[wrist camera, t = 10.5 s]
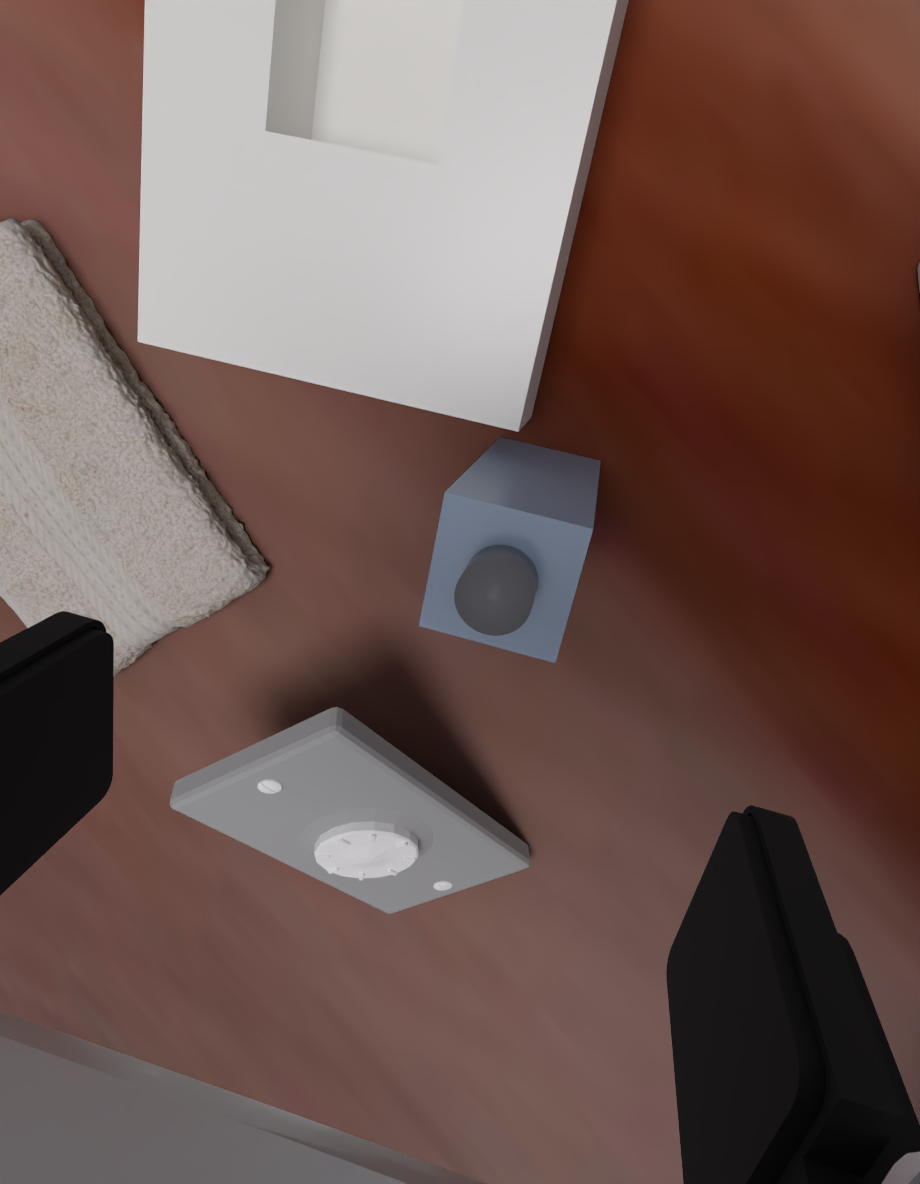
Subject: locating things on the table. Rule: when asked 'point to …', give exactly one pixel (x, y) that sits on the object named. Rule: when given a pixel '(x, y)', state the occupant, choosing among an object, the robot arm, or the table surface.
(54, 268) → the washcloth
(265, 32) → the socket block
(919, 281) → the supplement box
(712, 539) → the table surface
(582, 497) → the plug
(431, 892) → the light switch
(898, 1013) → the table surface
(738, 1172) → the robot arm
